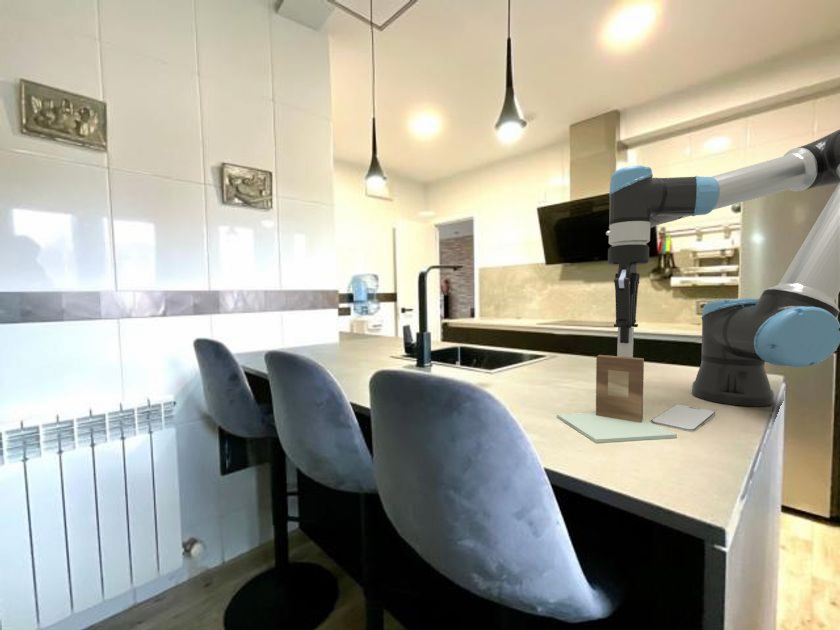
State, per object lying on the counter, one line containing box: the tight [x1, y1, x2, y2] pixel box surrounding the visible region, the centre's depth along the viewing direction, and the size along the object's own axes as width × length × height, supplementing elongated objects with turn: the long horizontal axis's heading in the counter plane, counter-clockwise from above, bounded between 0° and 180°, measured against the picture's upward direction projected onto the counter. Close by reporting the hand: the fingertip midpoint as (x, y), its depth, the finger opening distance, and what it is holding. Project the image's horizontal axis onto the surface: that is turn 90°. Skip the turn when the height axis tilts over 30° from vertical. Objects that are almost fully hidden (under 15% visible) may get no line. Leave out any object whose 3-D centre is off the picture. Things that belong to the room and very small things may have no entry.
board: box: [595, 354, 645, 423], centre depth 77 cm, size 2×8×12 cm, turn 52°
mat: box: [556, 411, 678, 444], centre depth 74 cm, size 15×14×1 cm
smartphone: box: [650, 404, 716, 433], centre depth 78 cm, size 7×1×15 cm
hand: (624, 358), depth 82 cm, fingers closed
